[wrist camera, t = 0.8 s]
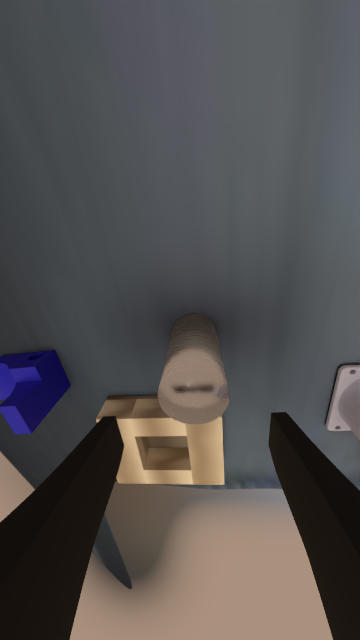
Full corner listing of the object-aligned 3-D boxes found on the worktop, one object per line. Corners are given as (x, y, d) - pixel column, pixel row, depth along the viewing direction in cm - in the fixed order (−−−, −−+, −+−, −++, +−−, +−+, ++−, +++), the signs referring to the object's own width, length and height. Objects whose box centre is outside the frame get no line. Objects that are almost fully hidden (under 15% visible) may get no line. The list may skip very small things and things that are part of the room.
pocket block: (218, 393, 21) (221, 417, 18) (221, 457, 25) (224, 484, 22) (108, 396, 22) (95, 419, 20) (126, 456, 26) (118, 483, 23)
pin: (215, 311, 18) (229, 367, 10) (216, 351, 19) (229, 423, 12) (169, 315, 18) (152, 370, 11) (174, 353, 20) (162, 425, 12)
